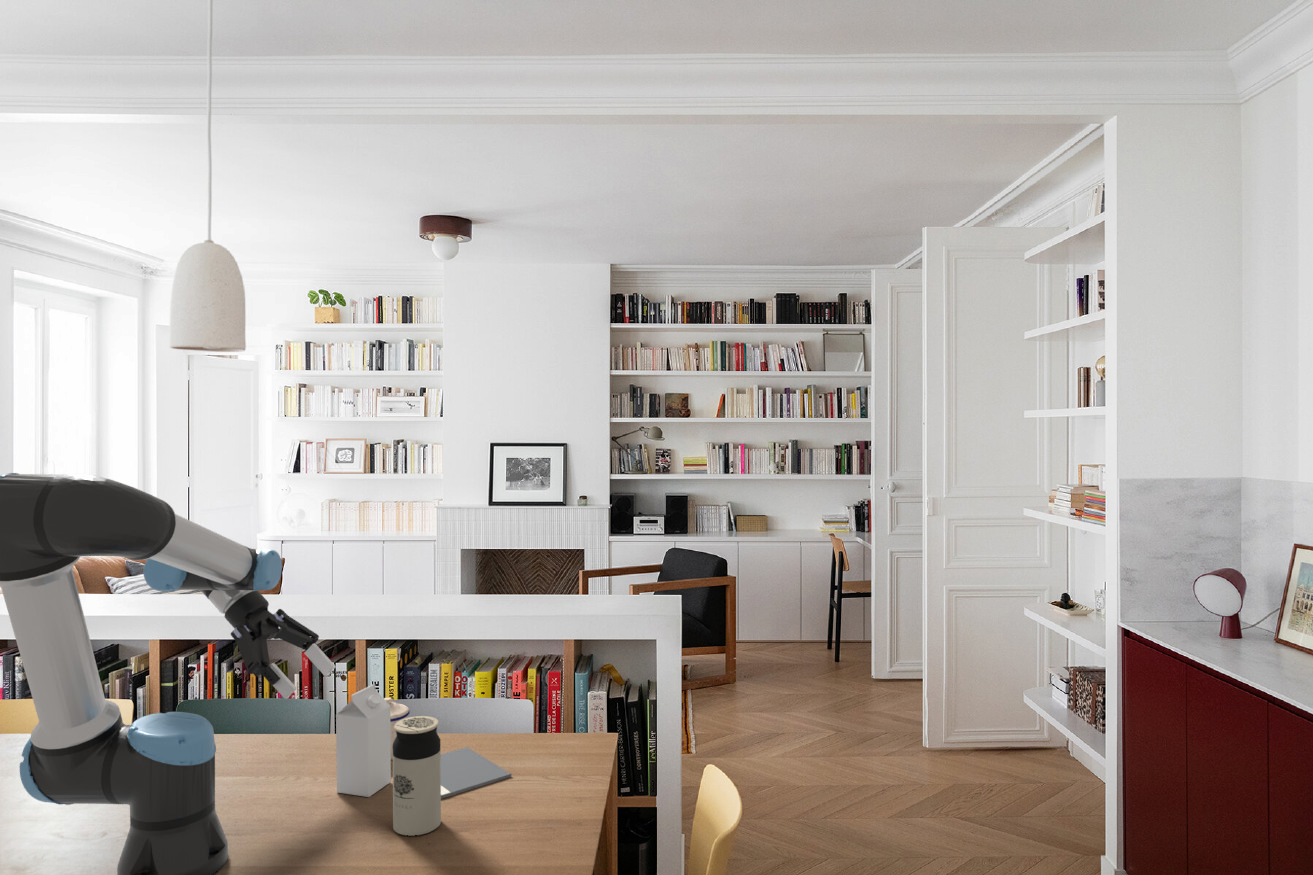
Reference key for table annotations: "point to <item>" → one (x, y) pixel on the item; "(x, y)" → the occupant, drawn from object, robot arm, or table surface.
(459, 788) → the mat
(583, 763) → the table surface
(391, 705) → the teacup with lid
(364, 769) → the milk carton
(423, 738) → the travel mug
